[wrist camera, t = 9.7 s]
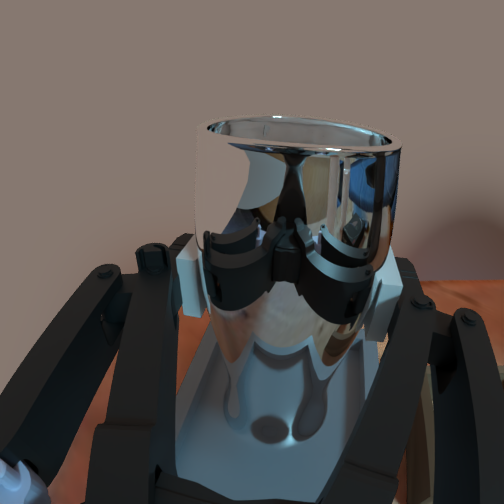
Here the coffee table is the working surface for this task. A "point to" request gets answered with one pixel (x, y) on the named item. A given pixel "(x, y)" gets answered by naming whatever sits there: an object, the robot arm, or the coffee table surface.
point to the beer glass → (289, 259)
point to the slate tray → (256, 459)
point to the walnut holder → (424, 446)
